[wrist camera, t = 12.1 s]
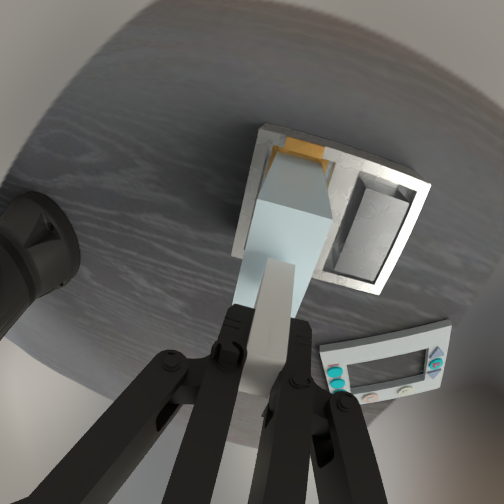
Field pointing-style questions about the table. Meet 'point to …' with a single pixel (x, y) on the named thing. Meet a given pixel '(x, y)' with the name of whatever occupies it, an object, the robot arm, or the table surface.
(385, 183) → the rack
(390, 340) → the electronic device
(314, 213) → the block
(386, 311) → the table surface
